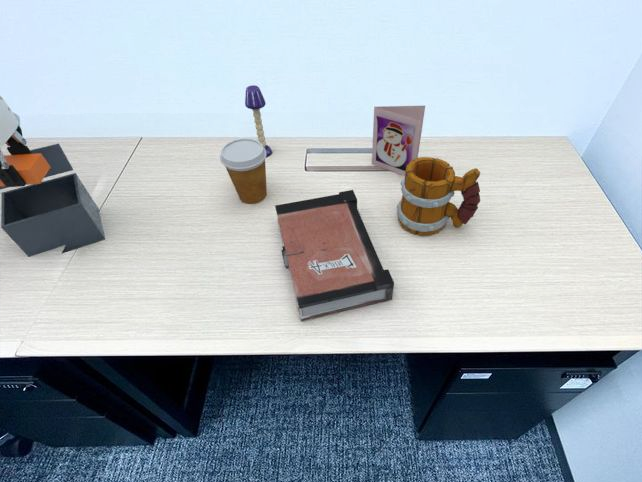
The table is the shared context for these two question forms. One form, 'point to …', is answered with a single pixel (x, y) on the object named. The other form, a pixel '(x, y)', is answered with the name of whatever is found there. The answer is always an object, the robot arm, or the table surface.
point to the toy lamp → (257, 112)
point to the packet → (29, 167)
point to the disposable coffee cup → (246, 168)
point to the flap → (53, 160)
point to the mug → (435, 196)
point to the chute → (51, 216)
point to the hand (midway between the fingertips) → (23, 174)
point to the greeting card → (396, 136)
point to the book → (331, 256)
